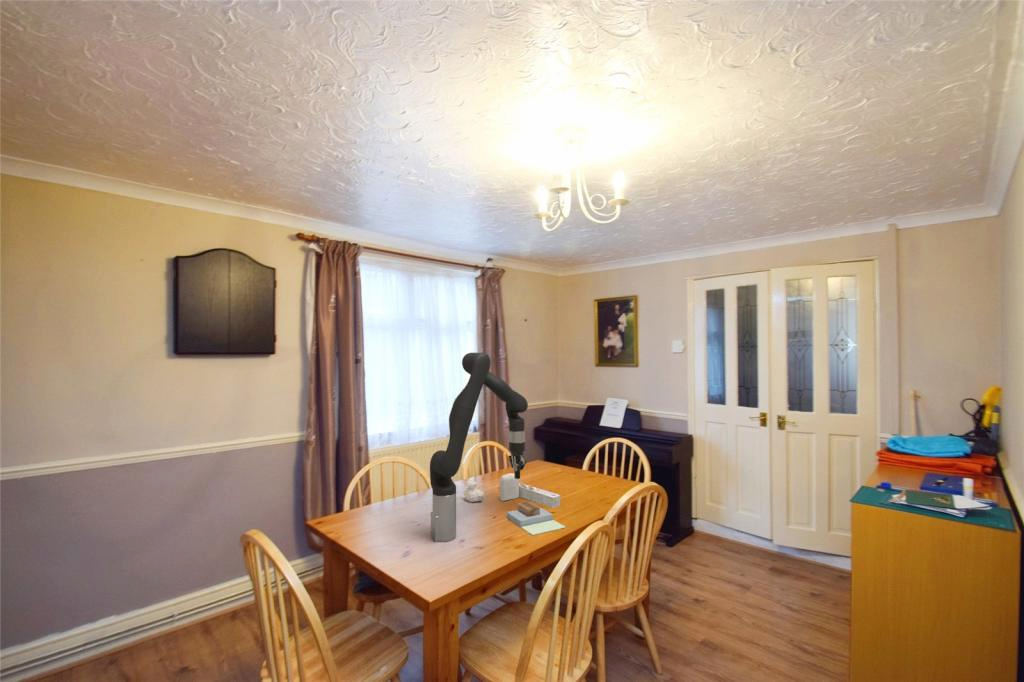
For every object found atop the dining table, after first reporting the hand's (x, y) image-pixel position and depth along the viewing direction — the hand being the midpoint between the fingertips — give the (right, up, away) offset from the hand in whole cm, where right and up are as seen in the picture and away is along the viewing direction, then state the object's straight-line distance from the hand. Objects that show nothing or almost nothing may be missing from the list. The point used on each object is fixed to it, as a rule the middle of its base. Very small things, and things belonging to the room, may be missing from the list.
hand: (517, 478), depth 201 cm
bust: (-22, -16, +13) cm, 30 cm away
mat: (+10, -14, -20) cm, 26 cm away
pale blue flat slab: (+5, -14, -10) cm, 18 cm away
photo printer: (-4, -16, +17) cm, 23 cm away
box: (+9, -16, +15) cm, 24 cm away
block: (+5, -12, -9) cm, 16 cm away
